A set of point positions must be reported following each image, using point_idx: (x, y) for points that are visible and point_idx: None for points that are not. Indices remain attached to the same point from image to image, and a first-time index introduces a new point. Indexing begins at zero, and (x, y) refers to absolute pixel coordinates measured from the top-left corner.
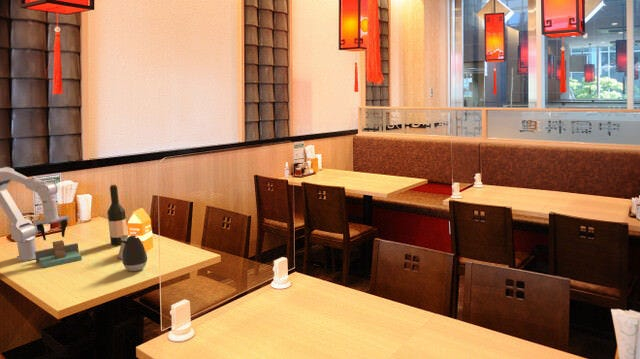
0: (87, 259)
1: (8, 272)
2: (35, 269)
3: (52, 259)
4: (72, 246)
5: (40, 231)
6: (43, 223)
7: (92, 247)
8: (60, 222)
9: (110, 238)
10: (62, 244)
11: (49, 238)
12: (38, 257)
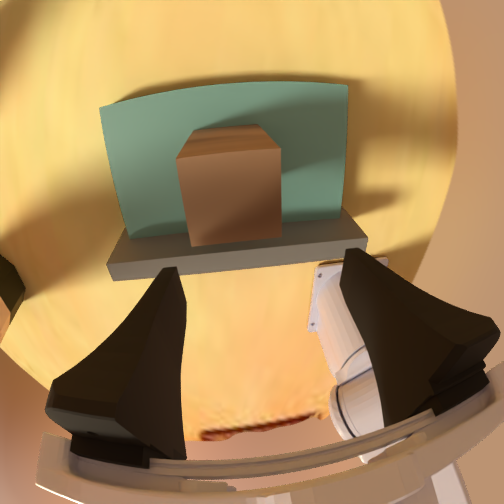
0: (83, 93)
1: (450, 150)
2: (371, 92)
3: (281, 127)
4: (140, 254)
5: (446, 304)
6: (424, 426)
7: (80, 288)
8: (175, 447)
9: (13, 302)
10: (195, 151)
11: (238, 413)
12: (341, 219)
